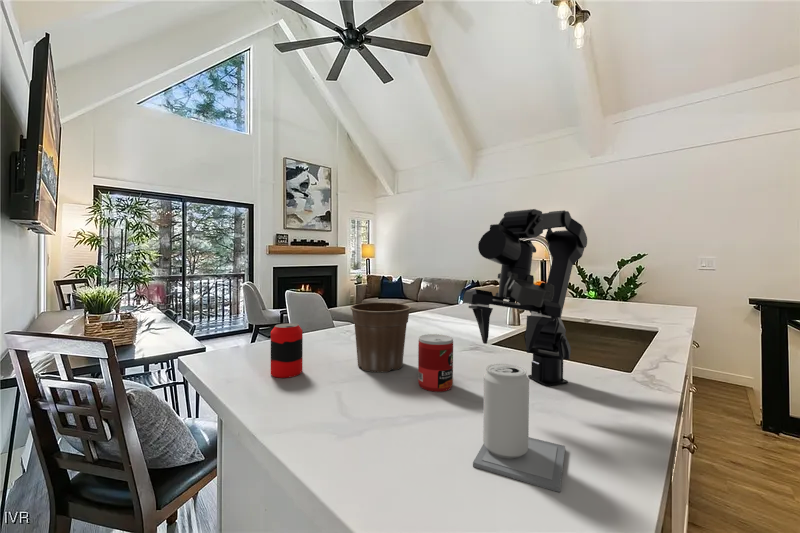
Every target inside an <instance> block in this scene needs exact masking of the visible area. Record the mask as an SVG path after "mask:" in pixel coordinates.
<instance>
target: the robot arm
mask: <svg viewBox="0 0 800 533" xmlns="http://www.w3.org/2000/svg"><path fill="white" fill-rule="evenodd" d="M556 228H565V229H564V230H555V231H553V229H556ZM545 230H547V231H546V234H545V236H544V239H545V241H546V243H547V244H548V251H549V253H550V255H551V257H552V259H551V260H552V261H551V265H550V269H549V272H548V273H549V274H548V277H547V280H546V282H541V283H540V284H539V285H538V284H535V283H534V281H535V278H534V275H532V274H531V269H532V261H533V254H535V253H537V248H536V246H535V245H534V243H533V242H532V240H522V239H533V238H537V237H538V236H541V235H542V234H543V233H544V231H545ZM477 244H478V246H477V248H478V252H479V255H480V256H481V257H483V258H484V259H486V260H489V261H492V262H494V263H497V264H499V265H501V267H500V268H501V269H500V272H499V273H498V274H497V279H499V284H498V285H499V286H498V292H495V295H493V292H492V291H490V290H489V291H488V290H483V289H477V288H473V289H471V288H470V289H467V290H466V291H465V292H464V294H463V297H462V298H463V299H462V303H463V304H467V305H468V304H469V305H468V309H471V310H472V312H473V314H474V317H475V320H476V322H477V325H478V328H479V333H480V337H481V340H482V343H483V344H488V339H489V334H490V332H489V331H490V318H491V314H492V312H493V309H494V308H493V307H490V305H492V306H498V307H504V308H509V309H515V310H522V311H526V312H527V311H528V312H529V313H530V315H526V323H525V324H526V326H525V327H526V328H525V331H524V336H523V337H524V343H525V350H526V353H527V354H532V360H531V371H530V372H531V374H528V375H527V377H528V379H531V380H534V381H535V382H537V383H540V384H541V385H544V386H545V387H546V386H547V387H548V386H549V387H550V386H557V385H564V384H569V380H567V379H564V360H570V359H571V354H572V352H571V350H572V347H571V343H569V340H568V338H567V335H566V333H567V332H566V331H567V330H566V328H565V325H564V322H563V321H562V320H563V319H562V314H563V309H564V306H565V305H564V304H565V300H566V296H567V293H568V288H569V287H568V286H569V283H570V279H571V274H572V270H573V266H574V264H576V263H577V262H578V261H579V260H580V259H581V258H582V257H583V253H584V250H585V249H586V248H587V245H588V236H587V234H586V231H585V229H584V227H583V224H581V223H579V222H578V221H577V220H575V219H574V218H573V217H572V216H571V213H570V212H569V211H568V210H567V211H566V210H553V211H549V212H545V213H543V211H542V210H540V209H539V210H538V209H536V208H533V209H531V208H529V209H521V210H514V211H513V210H510V211H506V212H504V213H503V217H502V218H501V220H500V221H499V223H498V224H497V223H496V224H493V223H492V224H490V225H489V230H488V231H486V232H484V234H483V235H482V236H481V238H480V239H479V241H478V243H477Z"/></svg>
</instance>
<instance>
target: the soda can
mask: <svg viewBox="0 0 800 533" xmlns="http://www.w3.org/2000/svg"><path fill="white" fill-rule="evenodd" d="M303 334H304V333H303V329H302V327H301V326H300V325H299V323H293V322H292V323H290V322H289V323H279V324H276V325H274V327H273V328H272V330H271V331H270V375H271V376H272V377H274V378H275V379H276V378H278V379H289V378H293V377H297V376H299V375H300V374H302V372H303V356H304V355H303V342H304V341H303V340H304V339H303Z"/></svg>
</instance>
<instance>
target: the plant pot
mask: <svg viewBox="0 0 800 533" xmlns="http://www.w3.org/2000/svg"><path fill="white" fill-rule="evenodd" d="M350 310H351V311H352V322H353V323H354V324H353V325H354V335H355V345H356V358H357V366H358V368H361V369H362V370H363V371H367V372H371V373H388V372H390V371H392V370H394V371H397V370H399V369H401V368H402V367H403V364H404V353H405V352H404V351H405V343H406V342H405V341H406V332H407V324H408V322H409V317H410V310H412V306H410V305H409V304H404V303H397V302H362V303H356V304H353V305H350Z"/></svg>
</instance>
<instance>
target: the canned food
mask: <svg viewBox="0 0 800 533" xmlns="http://www.w3.org/2000/svg"><path fill="white" fill-rule="evenodd" d="M417 348H418V349H417V350H418V352H417V353H418V355H417V356H418V361H417V362H418V365H417V366H418V367H417V368H418V370H417V371H418V374H417V376H418V377H417V381H418V385H419V387H420V388H421V389H423V390H425V391H428V392H435V393H436V392H437V393H440V392H446V391H449V390H451V388H453V384H454V382H453V380H454V378H453V377H454V374H453V373H454V338H453V337H452V336H449V335H445V334H437V333H433V334H432V333H430V334H429V333H428V334H422V335H420V336H419V337H418V347H417Z"/></svg>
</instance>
